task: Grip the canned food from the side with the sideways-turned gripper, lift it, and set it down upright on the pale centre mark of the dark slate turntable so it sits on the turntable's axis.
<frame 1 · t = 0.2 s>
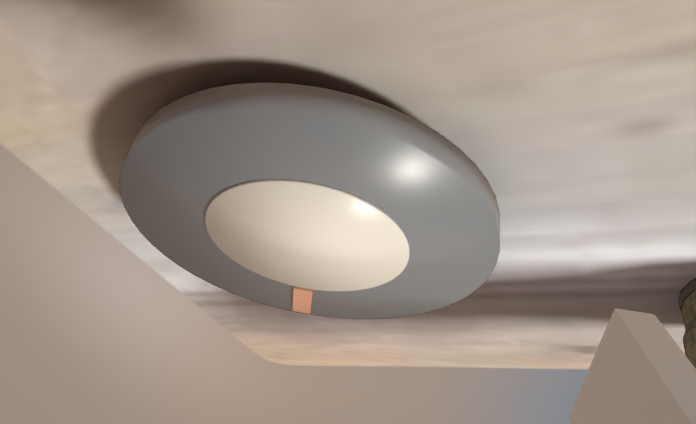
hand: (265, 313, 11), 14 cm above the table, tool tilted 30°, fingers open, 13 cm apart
turntable: (309, 231, 31), point 3 cm above the table, hinge at 0.0°
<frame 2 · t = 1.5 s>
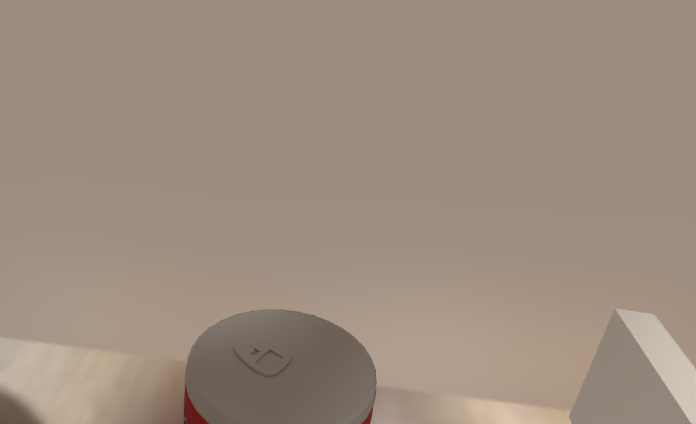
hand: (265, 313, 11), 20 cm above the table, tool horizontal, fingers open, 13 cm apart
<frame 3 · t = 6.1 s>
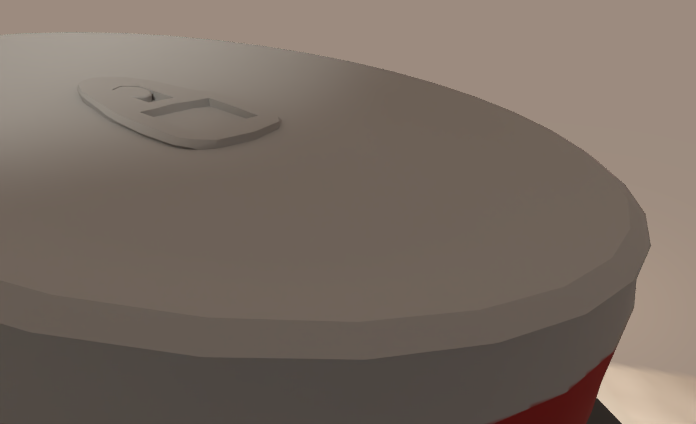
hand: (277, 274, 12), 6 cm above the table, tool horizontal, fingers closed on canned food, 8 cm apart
when the fingers open (11 cm above the table, at t = 11.1 s): canned food drops 2 cm, resting on turntable.
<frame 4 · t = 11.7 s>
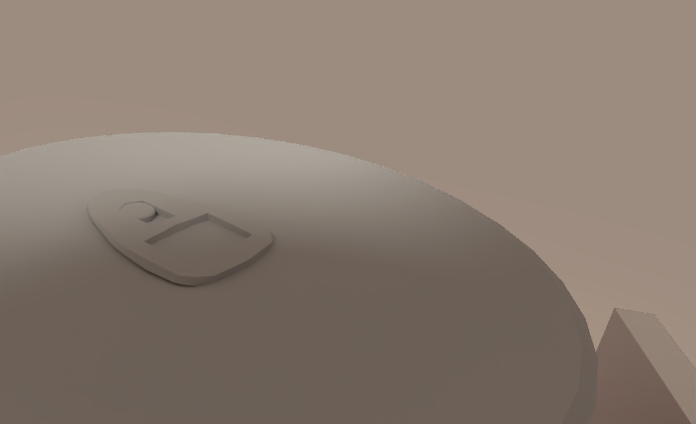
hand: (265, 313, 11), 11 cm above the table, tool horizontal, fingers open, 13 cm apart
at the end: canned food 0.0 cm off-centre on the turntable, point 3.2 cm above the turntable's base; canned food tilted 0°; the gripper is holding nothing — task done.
